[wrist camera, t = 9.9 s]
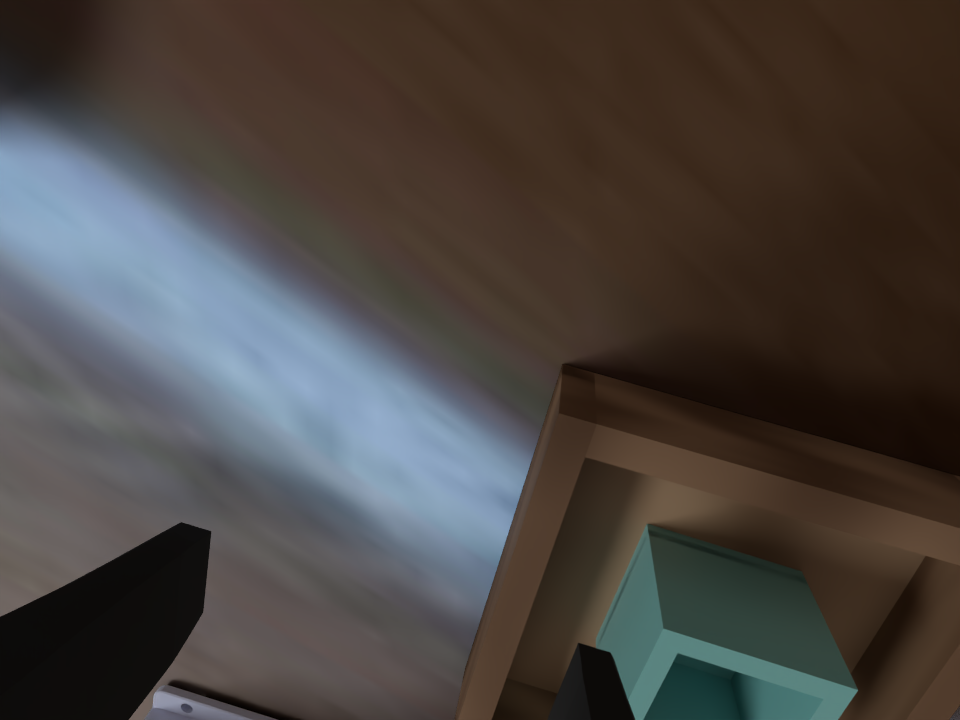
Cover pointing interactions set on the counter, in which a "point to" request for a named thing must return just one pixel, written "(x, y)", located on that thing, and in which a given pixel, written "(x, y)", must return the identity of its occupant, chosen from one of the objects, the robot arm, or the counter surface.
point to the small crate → (720, 637)
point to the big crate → (720, 543)
